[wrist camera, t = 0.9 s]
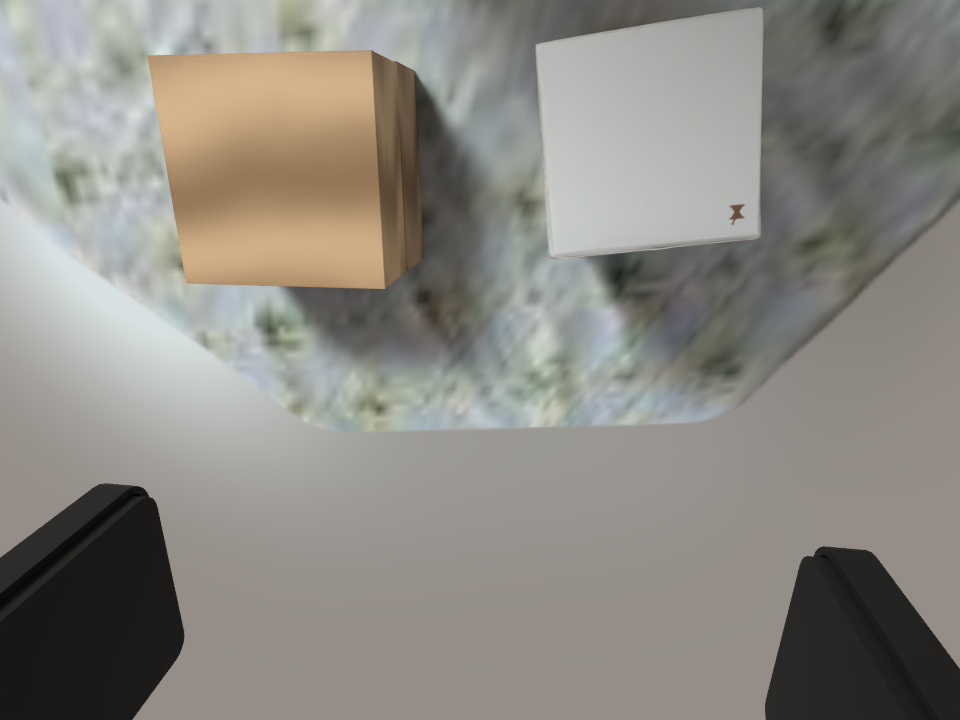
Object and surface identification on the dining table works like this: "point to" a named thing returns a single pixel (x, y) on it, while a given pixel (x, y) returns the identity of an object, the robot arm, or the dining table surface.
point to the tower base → (410, 166)
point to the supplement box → (652, 135)
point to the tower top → (284, 167)
